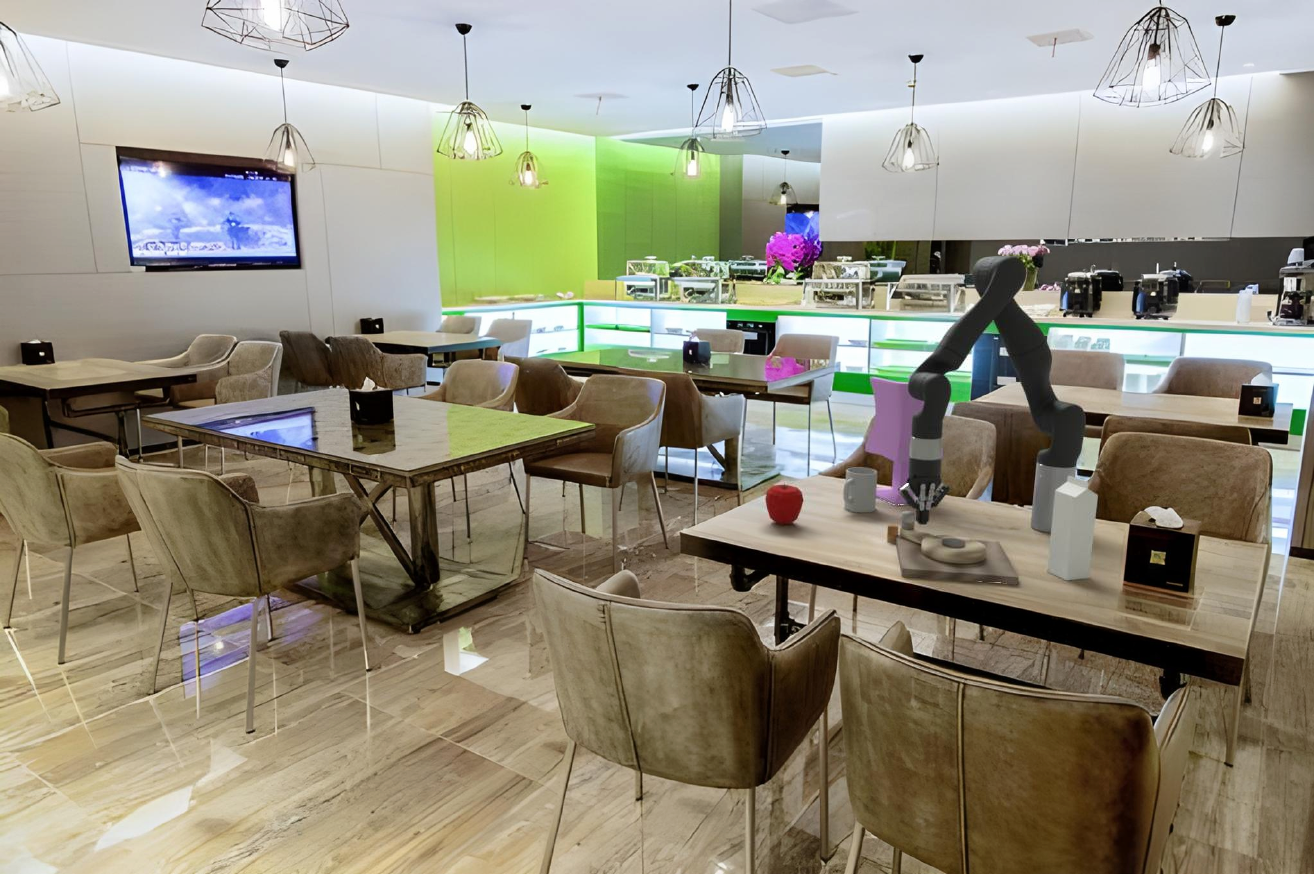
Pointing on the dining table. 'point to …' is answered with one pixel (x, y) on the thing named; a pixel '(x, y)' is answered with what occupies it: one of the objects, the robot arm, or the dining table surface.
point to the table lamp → (893, 432)
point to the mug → (860, 489)
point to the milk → (1072, 530)
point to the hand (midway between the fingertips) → (921, 523)
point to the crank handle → (942, 544)
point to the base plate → (923, 566)
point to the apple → (784, 503)
